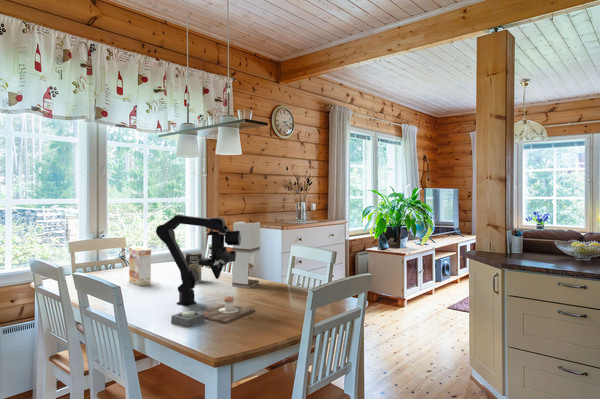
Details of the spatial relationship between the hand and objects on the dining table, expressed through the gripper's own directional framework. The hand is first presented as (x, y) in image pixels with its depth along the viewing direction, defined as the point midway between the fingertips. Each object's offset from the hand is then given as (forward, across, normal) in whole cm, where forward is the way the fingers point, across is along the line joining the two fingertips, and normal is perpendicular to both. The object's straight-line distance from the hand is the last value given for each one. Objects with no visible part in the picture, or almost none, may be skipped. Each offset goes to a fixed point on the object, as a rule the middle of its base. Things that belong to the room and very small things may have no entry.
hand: (217, 278), depth 187 cm
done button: (+10, -25, -9) cm, 28 cm away
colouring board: (+12, -8, -13) cm, 19 cm away
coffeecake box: (+12, +7, +65) cm, 66 cm away
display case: (+12, +38, +14) cm, 42 cm away
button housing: (+12, -25, -8) cm, 29 cm away
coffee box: (+12, +27, +44) cm, 53 cm away
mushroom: (+11, -6, -13) cm, 18 cm away
